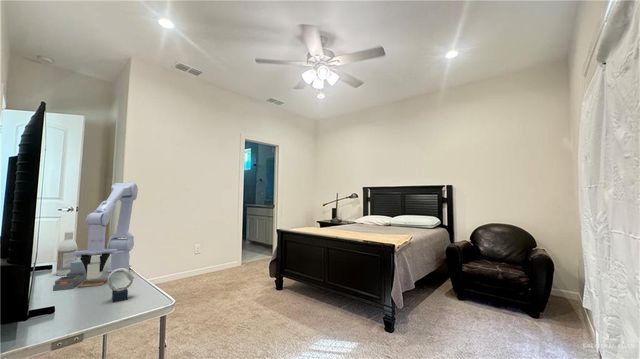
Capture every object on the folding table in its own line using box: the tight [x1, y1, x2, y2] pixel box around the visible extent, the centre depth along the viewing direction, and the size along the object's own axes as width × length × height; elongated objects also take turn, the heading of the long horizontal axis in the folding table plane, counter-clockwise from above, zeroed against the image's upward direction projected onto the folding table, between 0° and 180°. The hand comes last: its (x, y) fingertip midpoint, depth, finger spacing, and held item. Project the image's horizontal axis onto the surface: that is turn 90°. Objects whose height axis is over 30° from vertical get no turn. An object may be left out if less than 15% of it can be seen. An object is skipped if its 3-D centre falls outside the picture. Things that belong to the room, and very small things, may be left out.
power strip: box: [52, 270, 87, 292], centre depth 117 cm, size 24×6×4 cm, turn 24°
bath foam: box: [55, 230, 79, 277], centre depth 127 cm, size 7×7×20 cm
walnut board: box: [77, 277, 108, 289], centre depth 114 cm, size 9×8×1 cm
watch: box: [106, 268, 135, 304], centre depth 99 cm, size 6×8×11 cm
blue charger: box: [70, 259, 85, 273], centre depth 119 cm, size 4×4×6 cm
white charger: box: [86, 261, 103, 280], centre depth 115 cm, size 4×4×6 cm
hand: (94, 271), depth 115 cm, fingers closed on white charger, 4 cm apart
